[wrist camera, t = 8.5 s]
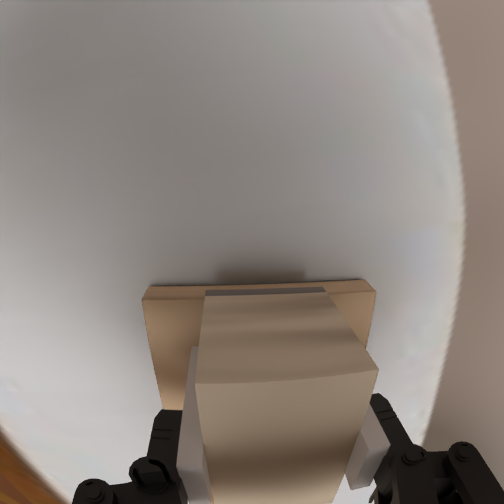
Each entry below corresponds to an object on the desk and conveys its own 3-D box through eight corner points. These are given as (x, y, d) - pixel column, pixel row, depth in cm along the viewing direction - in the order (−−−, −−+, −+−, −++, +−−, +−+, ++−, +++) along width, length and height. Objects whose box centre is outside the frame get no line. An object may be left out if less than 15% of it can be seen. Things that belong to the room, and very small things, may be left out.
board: (148, 286, 15) (141, 300, 14) (364, 279, 16) (376, 291, 15) (196, 501, 22) (195, 514, 21) (316, 494, 23) (319, 506, 21)
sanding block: (205, 290, 13) (194, 383, 8) (322, 286, 14) (378, 369, 8) (216, 421, 16) (216, 513, 10) (306, 415, 16) (332, 502, 10)
